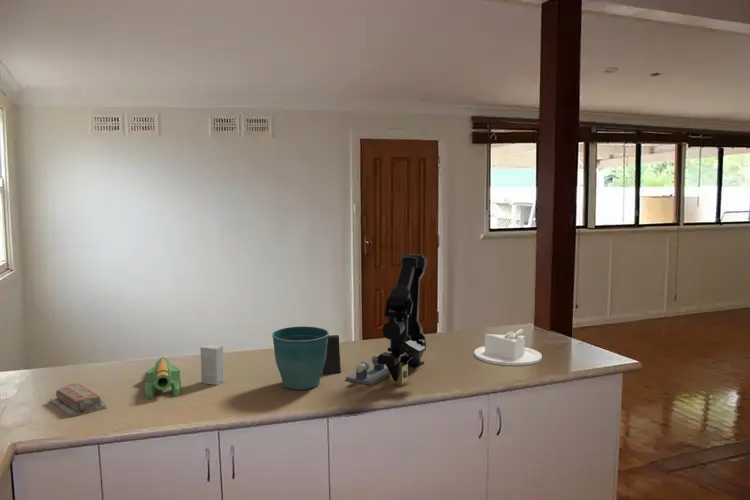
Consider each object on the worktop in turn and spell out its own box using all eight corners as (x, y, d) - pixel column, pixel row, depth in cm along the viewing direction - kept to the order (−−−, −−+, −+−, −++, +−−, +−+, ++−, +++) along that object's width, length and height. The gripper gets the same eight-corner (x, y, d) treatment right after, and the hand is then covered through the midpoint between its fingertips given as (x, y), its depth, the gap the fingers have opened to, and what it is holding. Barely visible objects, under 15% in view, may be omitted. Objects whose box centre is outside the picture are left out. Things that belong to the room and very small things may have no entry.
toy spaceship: (146, 369, 214) (146, 348, 213) (178, 366, 217) (178, 346, 217) (144, 400, 184) (143, 376, 183) (181, 396, 187) (180, 373, 187)
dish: (549, 354, 235) (551, 325, 234) (528, 370, 214) (529, 339, 213) (489, 344, 249) (490, 317, 247) (463, 359, 228) (464, 329, 226)
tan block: (389, 382, 200) (389, 364, 199) (395, 379, 204) (395, 361, 203) (402, 385, 198) (402, 367, 197) (408, 381, 201) (408, 363, 200)
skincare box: (224, 381, 201) (223, 345, 200) (217, 385, 197) (216, 349, 196) (208, 379, 203) (207, 344, 201) (200, 383, 199) (199, 347, 197)
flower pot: (331, 392, 191) (331, 338, 189) (273, 395, 188) (272, 341, 186) (326, 374, 208) (326, 325, 207) (272, 377, 205) (272, 327, 204)
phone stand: (340, 372, 210) (340, 338, 209) (323, 373, 209) (323, 339, 208) (336, 365, 219) (336, 332, 218) (320, 366, 218) (319, 333, 216)
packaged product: (107, 393, 177) (71, 402, 170) (108, 409, 177) (72, 418, 170) (83, 379, 189) (48, 386, 182) (84, 394, 190) (49, 402, 183)
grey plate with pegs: (369, 368, 215) (369, 351, 215) (394, 372, 210) (394, 355, 210) (345, 380, 203) (345, 362, 202) (372, 385, 198) (372, 366, 197)
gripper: (408, 342, 187) (407, 391, 188) (433, 329, 203) (433, 375, 204) (376, 337, 192) (376, 385, 194) (403, 325, 208) (403, 370, 210)
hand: (398, 379), depth 200 cm, fingers closed on tan block, 4 cm apart
